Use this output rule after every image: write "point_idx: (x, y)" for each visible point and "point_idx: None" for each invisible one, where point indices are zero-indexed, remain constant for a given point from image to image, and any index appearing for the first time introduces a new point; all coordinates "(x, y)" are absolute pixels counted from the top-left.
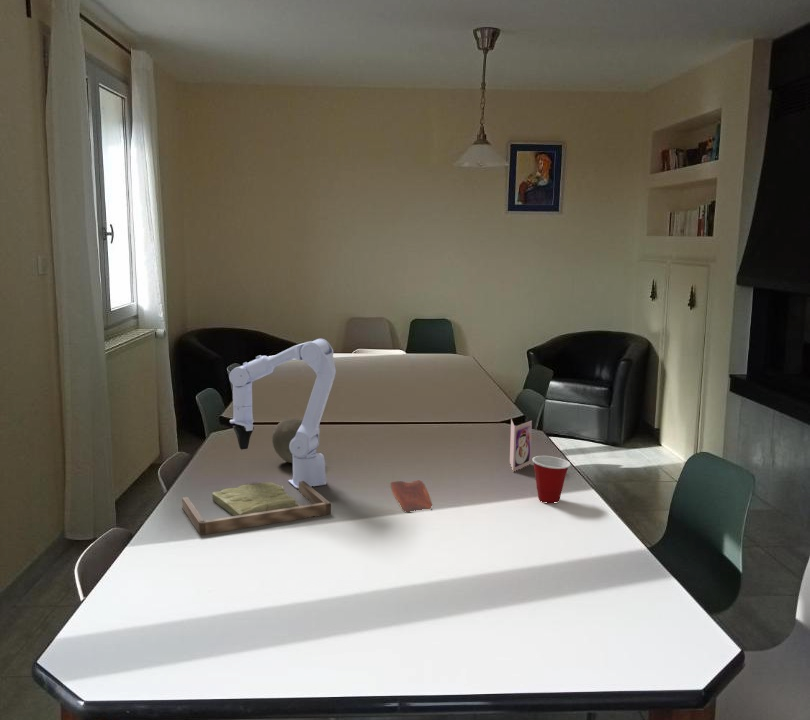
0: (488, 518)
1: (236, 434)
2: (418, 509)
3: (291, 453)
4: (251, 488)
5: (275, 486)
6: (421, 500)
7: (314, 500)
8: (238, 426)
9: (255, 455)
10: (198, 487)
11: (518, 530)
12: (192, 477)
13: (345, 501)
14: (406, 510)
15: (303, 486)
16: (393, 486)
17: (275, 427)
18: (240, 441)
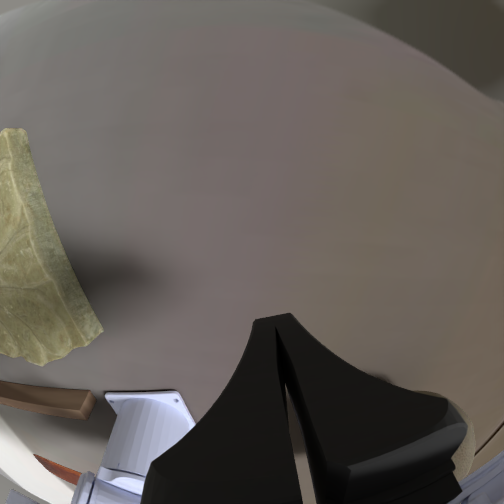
0: (45, 483)
1: (340, 381)
2: (45, 466)
3: None
4: (7, 273)
5: (32, 347)
6: (73, 482)
7: (13, 390)
8: (378, 491)
9: (486, 301)
10: (173, 49)
11: (27, 477)
12: (331, 36)
13: (50, 429)
14: (37, 457)
15: (54, 405)
16: None
17: (457, 455)
18: (241, 368)
